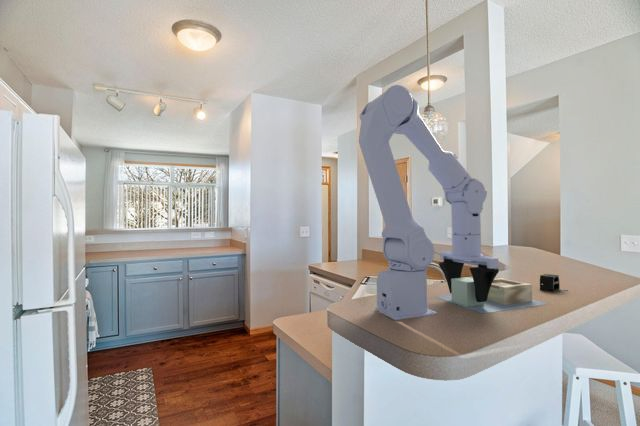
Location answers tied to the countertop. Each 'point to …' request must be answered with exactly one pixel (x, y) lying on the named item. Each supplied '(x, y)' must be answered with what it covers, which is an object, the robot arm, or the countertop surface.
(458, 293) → the green brick
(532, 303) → the mat
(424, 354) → the countertop surface
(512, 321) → the countertop surface
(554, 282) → the black box
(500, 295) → the base brick
